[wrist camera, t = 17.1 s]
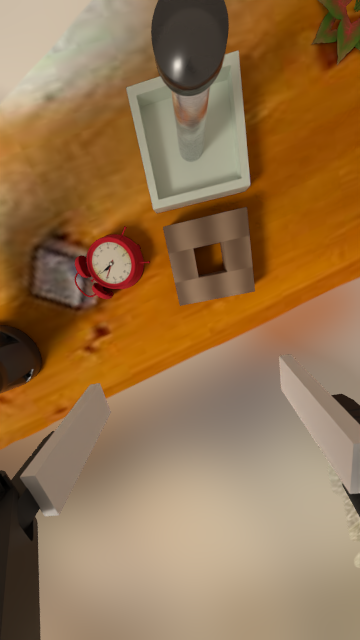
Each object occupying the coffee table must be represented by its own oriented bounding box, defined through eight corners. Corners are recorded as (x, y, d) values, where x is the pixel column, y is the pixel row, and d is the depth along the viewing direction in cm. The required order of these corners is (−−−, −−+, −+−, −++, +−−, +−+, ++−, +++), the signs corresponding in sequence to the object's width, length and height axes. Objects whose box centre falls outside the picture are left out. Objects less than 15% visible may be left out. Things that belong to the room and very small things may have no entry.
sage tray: (156, 213, 37) (153, 209, 34) (132, 104, 32) (126, 87, 29) (244, 191, 35) (250, 185, 32) (233, 72, 30) (238, 50, 27)
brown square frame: (180, 300, 42) (179, 305, 38) (165, 229, 38) (162, 226, 34) (248, 287, 40) (254, 291, 37) (241, 211, 36) (246, 206, 32)
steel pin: (177, 173, 34) (161, 93, 17) (169, 130, 32) (142, -8, 15) (212, 163, 33) (233, 69, 16) (206, 118, 31) (222, -40, 14)
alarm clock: (156, 267, 37) (89, 314, 37) (155, 269, 43) (98, 310, 43) (120, 215, 34) (48, 266, 34) (125, 225, 40) (64, 268, 40)
